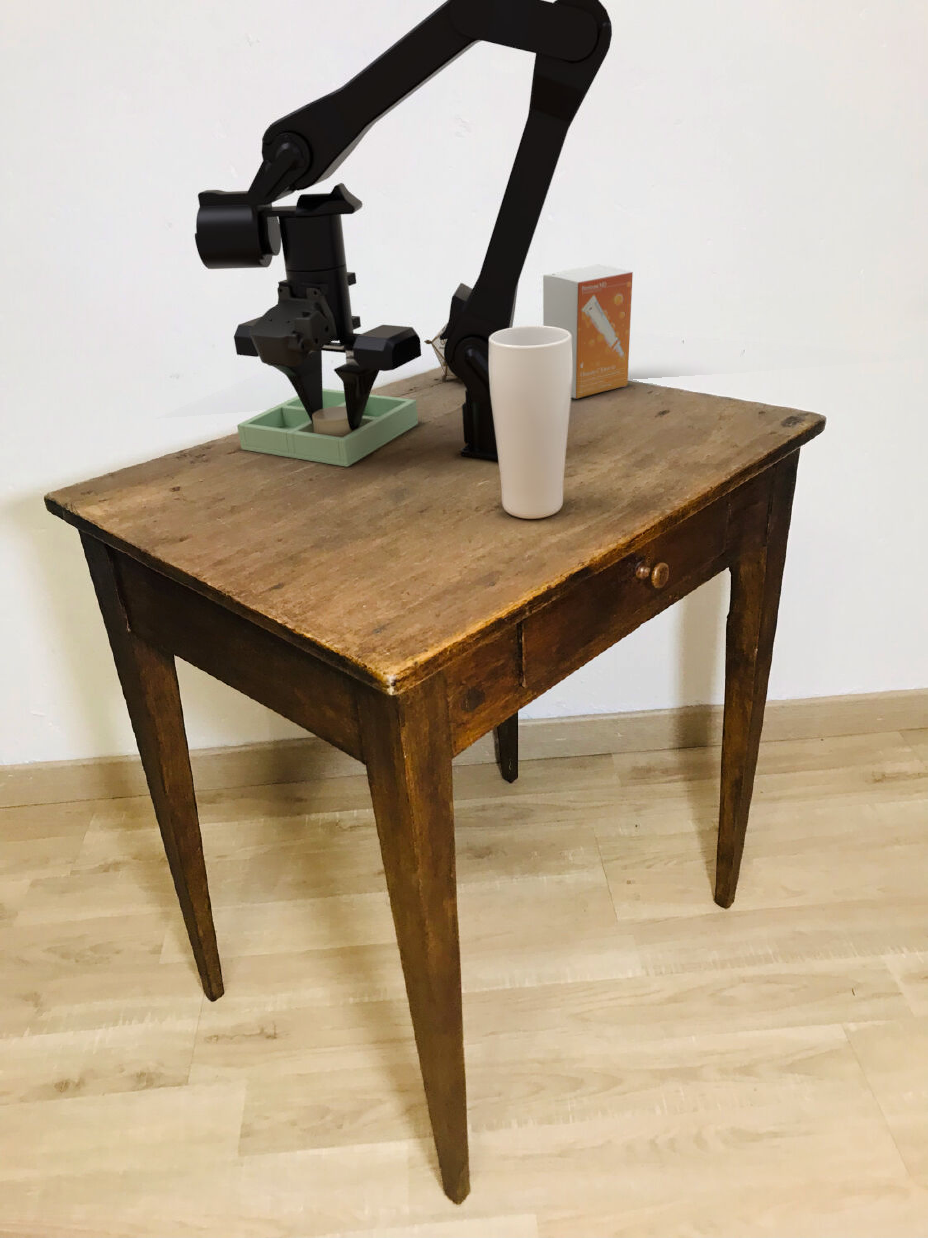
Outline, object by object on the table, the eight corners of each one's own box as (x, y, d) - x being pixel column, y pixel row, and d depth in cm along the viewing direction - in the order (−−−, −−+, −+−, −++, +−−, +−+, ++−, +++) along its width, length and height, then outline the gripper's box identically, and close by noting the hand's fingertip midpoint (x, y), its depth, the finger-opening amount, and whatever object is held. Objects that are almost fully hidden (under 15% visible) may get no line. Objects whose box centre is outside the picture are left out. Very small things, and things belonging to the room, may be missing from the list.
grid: (418, 423, 104) (416, 399, 103) (347, 467, 94) (344, 440, 93) (317, 410, 110) (314, 387, 109) (241, 449, 100) (236, 424, 99)
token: (366, 431, 98) (364, 409, 97) (341, 445, 95) (339, 422, 94) (331, 426, 100) (328, 404, 99) (306, 440, 97) (303, 417, 96)
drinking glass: (579, 496, 85) (581, 326, 77) (560, 528, 79) (561, 348, 72) (506, 490, 87) (501, 323, 79) (483, 520, 82) (476, 344, 74)
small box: (576, 400, 108) (577, 281, 102) (542, 388, 113) (541, 273, 106) (629, 386, 112) (634, 270, 105) (594, 374, 117) (596, 263, 110)
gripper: (181, 278, 87) (212, 440, 95) (348, 289, 79) (367, 466, 87) (259, 255, 95) (281, 407, 103) (417, 263, 87) (429, 427, 95)
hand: (335, 426), depth 97 cm, fingers closed on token, 4 cm apart
